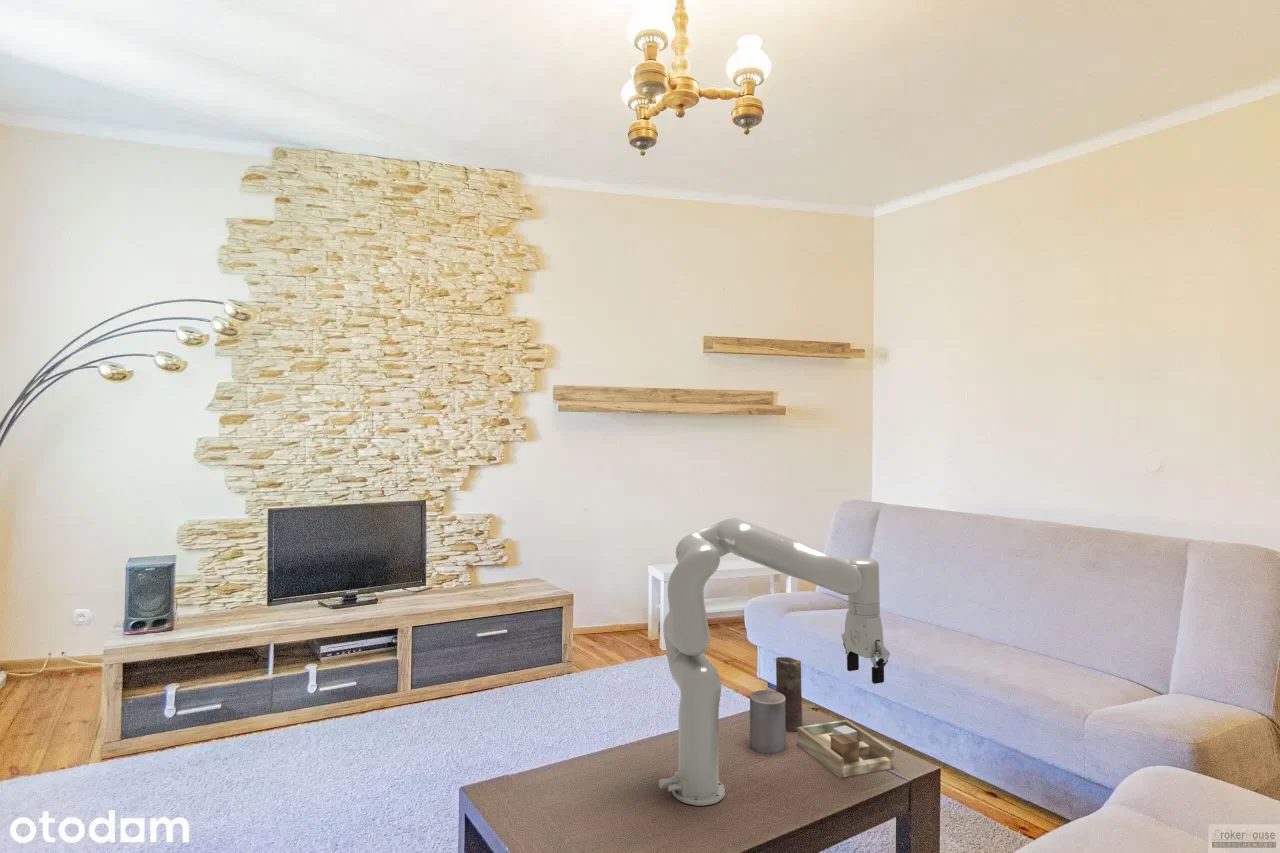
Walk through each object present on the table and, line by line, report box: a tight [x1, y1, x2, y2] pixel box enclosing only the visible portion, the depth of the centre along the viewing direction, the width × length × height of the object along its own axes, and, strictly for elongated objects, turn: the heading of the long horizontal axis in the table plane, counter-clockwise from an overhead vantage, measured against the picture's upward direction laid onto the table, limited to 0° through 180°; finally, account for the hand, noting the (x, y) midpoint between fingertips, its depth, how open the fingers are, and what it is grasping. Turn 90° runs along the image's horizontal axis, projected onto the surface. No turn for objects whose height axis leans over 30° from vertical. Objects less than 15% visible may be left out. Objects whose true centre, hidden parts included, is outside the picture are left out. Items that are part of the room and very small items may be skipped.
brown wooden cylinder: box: [775, 656, 803, 733], centre depth 207 cm, size 8×7×20 cm
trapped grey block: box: [833, 725, 857, 740], centre depth 194 cm, size 4×4×4 cm
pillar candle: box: [749, 689, 787, 755], centre depth 194 cm, size 10×10×15 cm
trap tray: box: [796, 719, 895, 779], centre depth 188 cm, size 16×20×5 cm
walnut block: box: [831, 734, 859, 764], centre depth 182 cm, size 5×5×5 cm
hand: (865, 676), depth 178 cm, fingers open, 9 cm apart
